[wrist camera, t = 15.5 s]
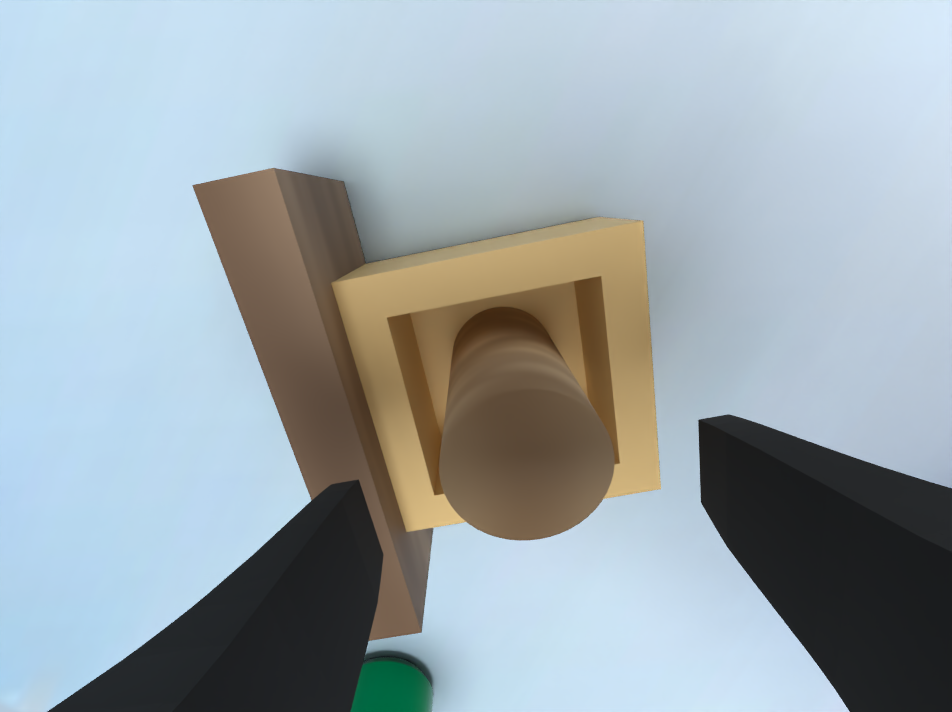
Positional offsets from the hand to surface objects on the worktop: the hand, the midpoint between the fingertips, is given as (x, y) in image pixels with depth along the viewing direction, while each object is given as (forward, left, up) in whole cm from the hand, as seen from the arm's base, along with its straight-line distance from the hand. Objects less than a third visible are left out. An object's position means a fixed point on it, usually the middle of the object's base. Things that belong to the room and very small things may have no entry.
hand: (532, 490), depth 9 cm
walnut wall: (+6, 0, -9) cm, 11 cm away
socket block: (0, 0, -9) cm, 9 cm away
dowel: (0, 0, -9) cm, 9 cm away
